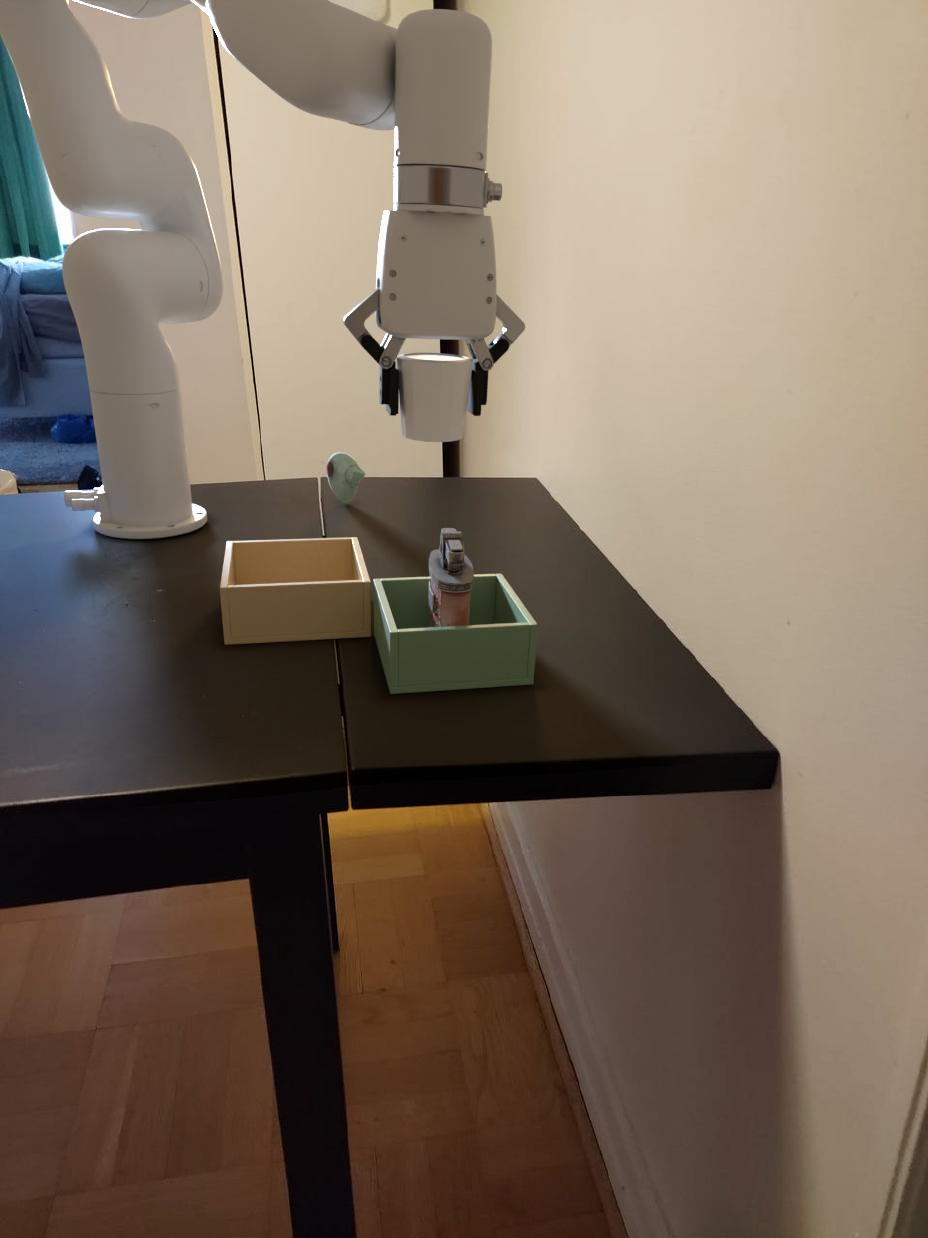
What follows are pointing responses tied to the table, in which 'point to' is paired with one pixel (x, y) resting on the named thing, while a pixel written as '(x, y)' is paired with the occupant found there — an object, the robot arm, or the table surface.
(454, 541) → the lighter
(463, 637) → the green bin
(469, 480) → the table surface
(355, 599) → the beige bin
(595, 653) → the table surface
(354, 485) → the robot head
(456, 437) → the white round tub
